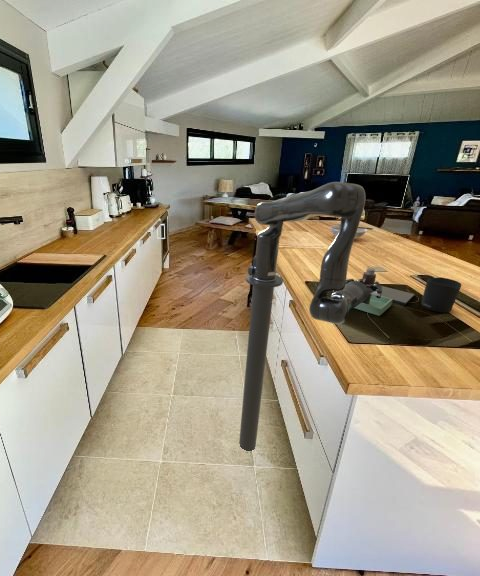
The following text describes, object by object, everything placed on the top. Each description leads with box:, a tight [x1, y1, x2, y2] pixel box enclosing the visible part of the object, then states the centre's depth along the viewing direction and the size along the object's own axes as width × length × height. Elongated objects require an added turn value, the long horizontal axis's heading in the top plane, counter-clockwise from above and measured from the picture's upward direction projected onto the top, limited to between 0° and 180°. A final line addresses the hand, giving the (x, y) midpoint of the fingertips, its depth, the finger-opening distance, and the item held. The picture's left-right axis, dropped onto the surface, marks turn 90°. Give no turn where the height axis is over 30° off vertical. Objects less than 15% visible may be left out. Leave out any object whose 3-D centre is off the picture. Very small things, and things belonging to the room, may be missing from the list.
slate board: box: [379, 284, 415, 306], centre depth 123 cm, size 20×12×1 cm, turn 43°
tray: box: [353, 295, 393, 317], centre depth 114 cm, size 15×12×3 cm
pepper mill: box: [361, 268, 377, 304], centre depth 111 cm, size 4×4×13 cm
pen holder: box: [421, 276, 462, 314], centre depth 110 cm, size 9×9×10 cm
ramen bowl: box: [329, 223, 374, 240], centre depth 209 cm, size 25×23×8 cm
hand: (369, 282), depth 113 cm, fingers closed on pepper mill, 4 cm apart
